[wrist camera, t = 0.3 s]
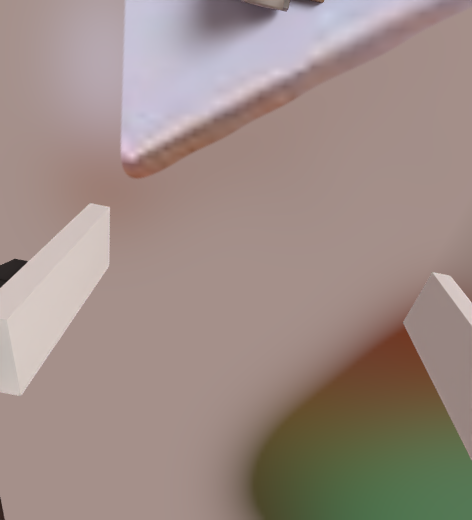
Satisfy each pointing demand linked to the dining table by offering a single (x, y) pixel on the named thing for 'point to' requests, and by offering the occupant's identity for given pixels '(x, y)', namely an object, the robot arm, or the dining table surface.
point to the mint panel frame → (274, 3)
